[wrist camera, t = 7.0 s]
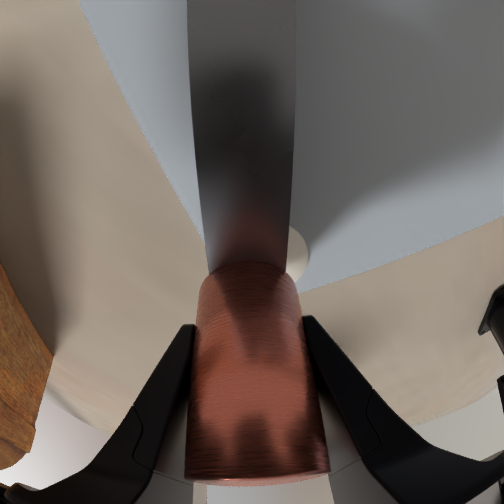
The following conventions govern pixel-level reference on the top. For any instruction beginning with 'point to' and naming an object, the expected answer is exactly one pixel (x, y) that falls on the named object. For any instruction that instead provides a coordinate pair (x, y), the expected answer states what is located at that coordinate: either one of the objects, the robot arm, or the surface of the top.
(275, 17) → the lever
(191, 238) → the top surface
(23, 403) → the wooden box
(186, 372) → the robot arm
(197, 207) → the blue-grey rectangular board
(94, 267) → the top surface
